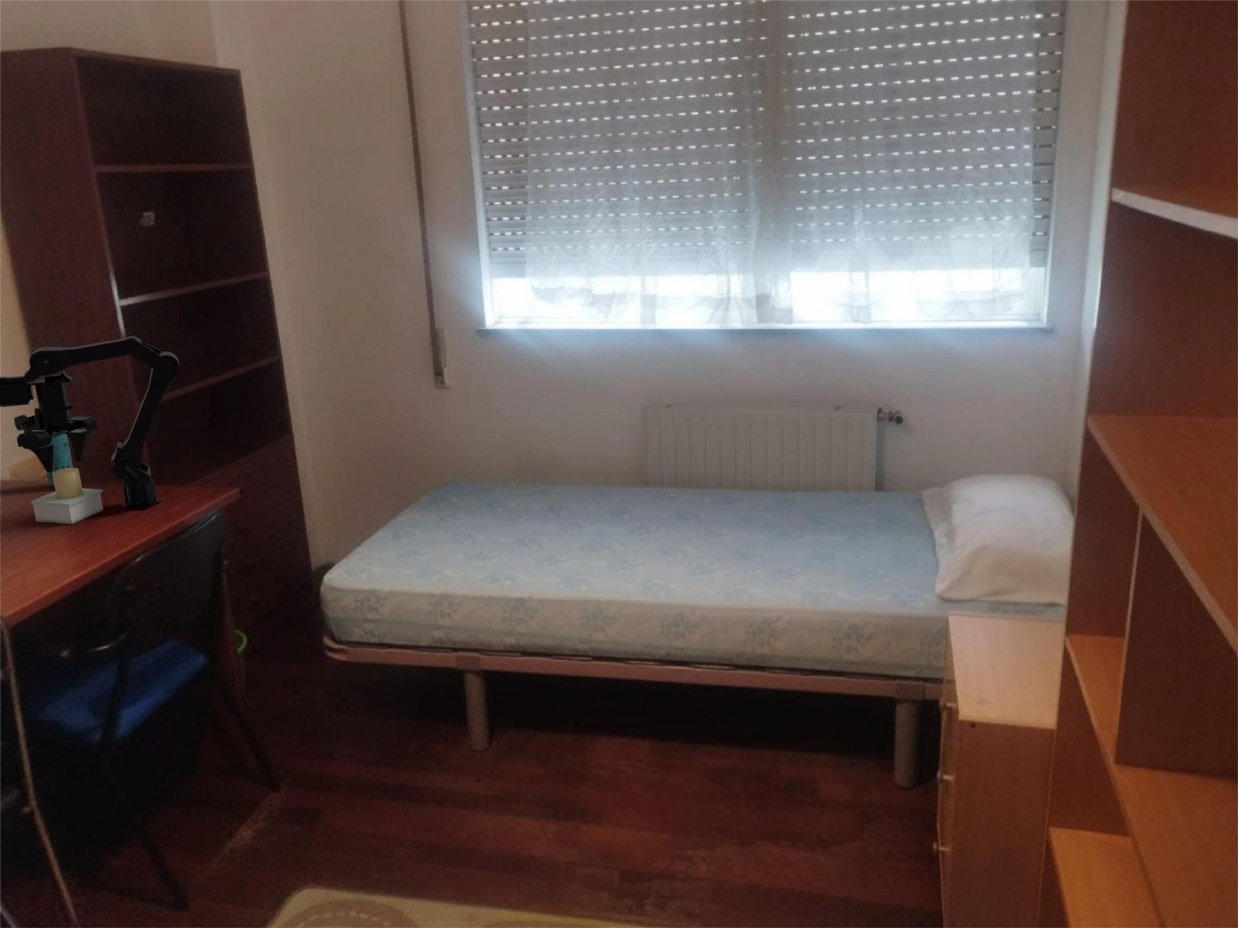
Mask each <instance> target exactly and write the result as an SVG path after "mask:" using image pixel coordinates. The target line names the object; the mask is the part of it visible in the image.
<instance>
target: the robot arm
mask: <svg viewBox="0 0 1238 928" xmlns="http://www.w3.org/2000/svg"><path fill="white" fill-rule="evenodd" d="M125 356H133V358H136V359H137V360H139V361H140V362H142V363H143V364H145V365H147V366H148V367H149V368H151V371H150V377H149V382H148V387H147V390H146V392H145V395H144V397H143V400H142V401H141V402H142V403H141V405H140V408H139V410H138V412H137V415H136V418H135V420H134V423H133V424H132V427H131V430H130V432H129V435H128V437H127V438H126V440H125V441H124V443H122V442H120V441H117V443H116V448H115V451H114V452H113V454H112V455H111V461H110V464H113V465H112V472H113V474H114V475H115V476H116V477H117V478H118V479H121V480H123V482H122V483H123V487H122V491H123V496H124V497H123V498H124V503H125V504H123V505H121V507H122V508H123V509H134V510H135V509H136V510H146V509H148V508H150V507H152V506H154V505H156V504H158V503H162V502H163V501H162V499H161V498H157V491H156V487H155V480H154V479H152V478H151V466H149V465H147V464H145V462H142V458H143V451H144V446H145V443H146V441H147V438H148V436H149V433H150V430H151V427H152V425H153V423H154V421H155V418H156V416H157V412H158V410H159V408H160V405H161V403H162V400H163V397H164V395H165V393H166V392H167V390H168V389H169V387H171V385H172V384H173V383H174V381H175V379H176V377H177V376H178V375H179V373H180V369H181V367H180V366H181V365H180V361H179V359H178V356H177V355H176V354H174V353H173V352H171V351H162V350H160V349H159V348H157V347H154V346H153V345H150V344H149V343H146V342H144V341H143V340H141V339H140V338H138V337H137V336H135V335H130V336H127V337H125V338H120V339H119V338H118V339H113V340H107V341H101V342H96V343H91V344H90V343H89V344H86V345H79V346H78V345H77V346H72V347H71V346H69V347H68V346H42V347H39V348H37V349H36V350H34V352H33V353H32V354H31V356H29V361H28V363H29V367H30V368H29V369H28V370H26V371H25V372H24V374H23V375H19V376H0V408H8V407H9V408H10V407H17V406H18V407H19V406H29V405H30V403H31V401H35V393H36V398H37V403H38V404H37V405H38V407H35V408H34V410H33V411H34V412H33V413H34V414H33V415H31V416H27V415H26V414H22V415H18V416H16V417H14V419H13V420H14V426H15V428H16V429H17V431H23V433H19V434H18V436H17V437H16V442H17V446H18V448H23V449H24V450H29V451H31V452H32V453H33V454H34V455H35V456H36V457H37V459H38V460H39V462H40V463H41V465H42V467H43V468H44V470H46V471H47V472H48V473H51V472H52V470H53V451H54V445H51V444H50V443H51V441H52V438H53V437H56V436H59V435H62V434H66V435H67V438H68V439H70V440H69V441H70V442H71V447H72V452H73V456H74V459H75V461H76V462H78V463H79V462H82V460H83V456H84V454H85V452H86V451H85V450H86V449H87V446H88V443H89V441H90V439H91V436H92V434H94V432H95V431H94V430H96V429H98V426H97V420H95V418H94V417H93V416H78V415H77V416H73V417H71V418H70V412H69V410H72V409H73V406H72V404H68V402H67V396H66V391H65V386H64V383H65V384H66V383H71V382H72V381H73V380H72V379H73V377H72V376H70V375H68V374H67V373H66V372H65V370H67V369H69V368H72V367H74V366H77V365H82V364H86V363H91V362H96V361H102V360H108V359H114V358H119V357H120V358H121V357H125ZM58 372H60V373H59V374H56V373H58ZM53 374H55V375H53ZM42 376H44V379H39V378H41V377H42ZM38 379H39V380H38ZM33 386H34V387H35V391H34V387H33ZM34 392H35V393H34ZM41 430H44V431H41ZM61 430H62V431H61ZM53 432H55V433H53ZM46 471H45V472H46ZM47 472H46V473H47Z"/></svg>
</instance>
